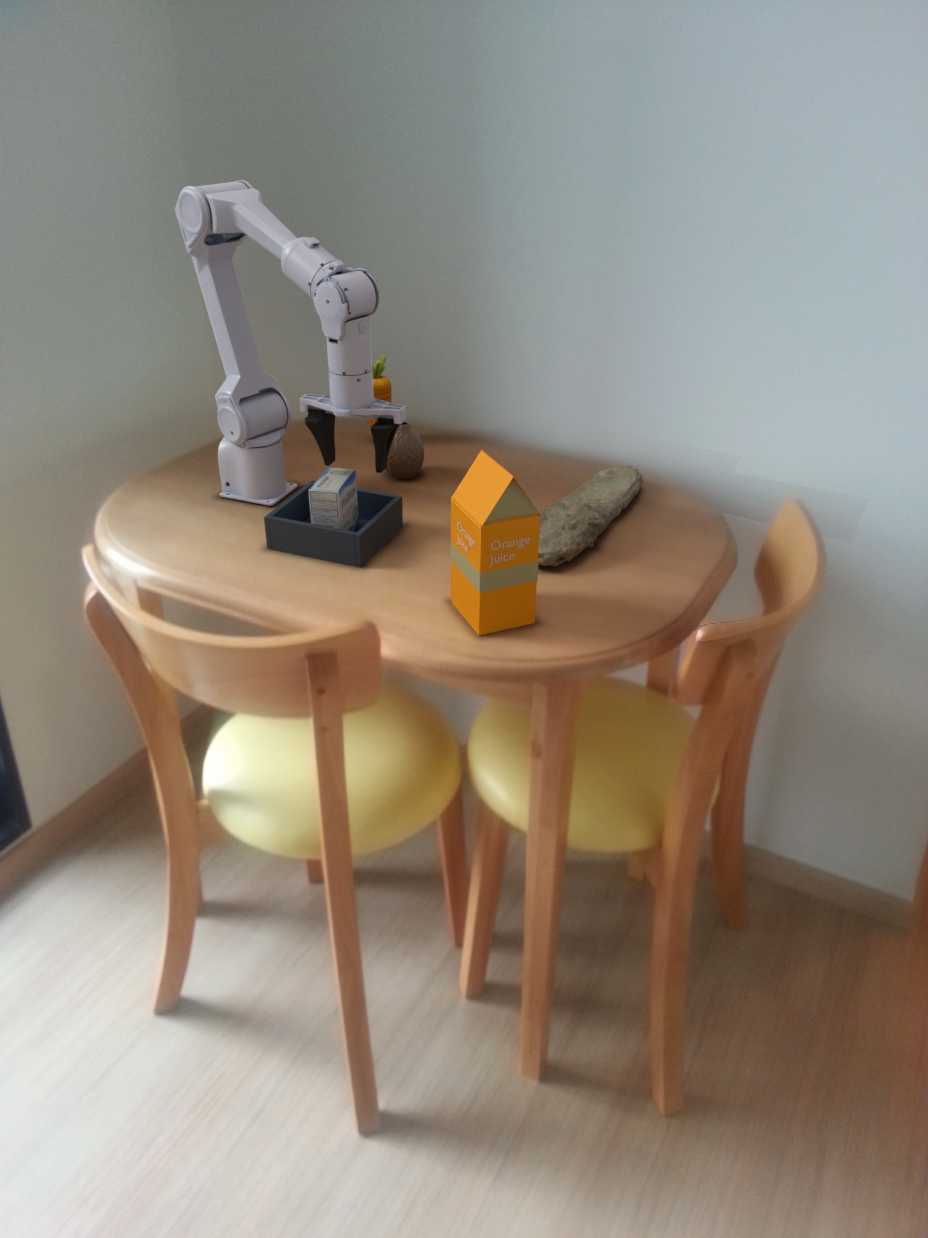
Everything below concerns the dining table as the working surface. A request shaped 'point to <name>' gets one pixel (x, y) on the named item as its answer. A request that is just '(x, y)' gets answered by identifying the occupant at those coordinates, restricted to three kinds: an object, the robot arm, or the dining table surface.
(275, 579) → the dining table surface
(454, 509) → the orange juice
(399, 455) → the vase
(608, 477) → the elongated rock
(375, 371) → the carrot
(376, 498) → the basket
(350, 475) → the medicine box
